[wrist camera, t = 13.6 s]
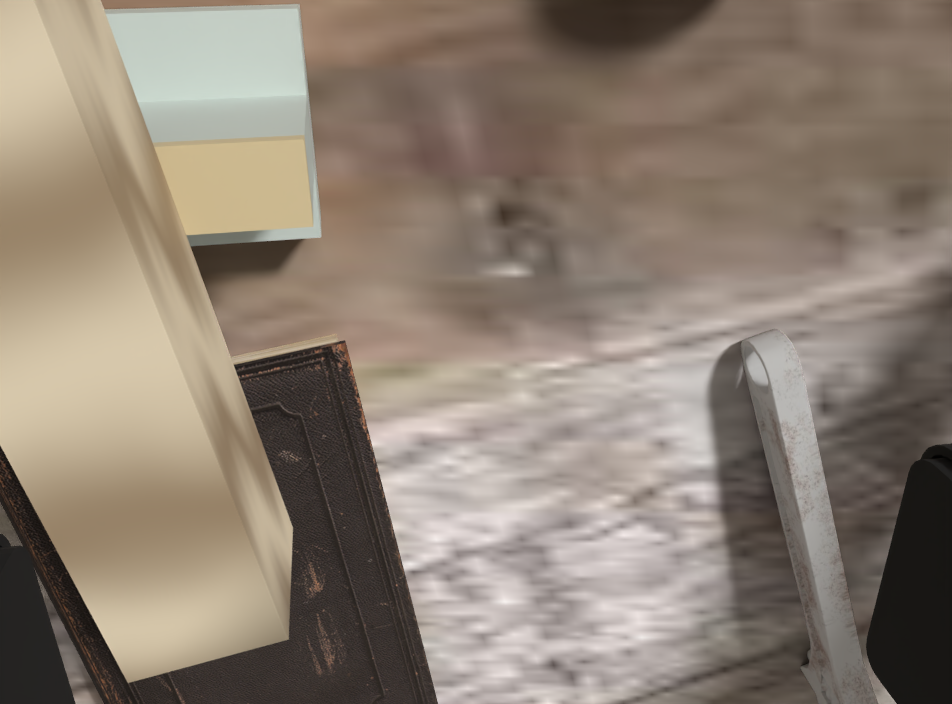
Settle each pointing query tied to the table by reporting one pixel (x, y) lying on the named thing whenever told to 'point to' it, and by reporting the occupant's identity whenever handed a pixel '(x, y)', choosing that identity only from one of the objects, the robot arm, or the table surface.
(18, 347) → the birch bar
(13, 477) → the hardcover book
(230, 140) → the ridge stand
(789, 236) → the table surface
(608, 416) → the table surface
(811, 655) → the wrench
